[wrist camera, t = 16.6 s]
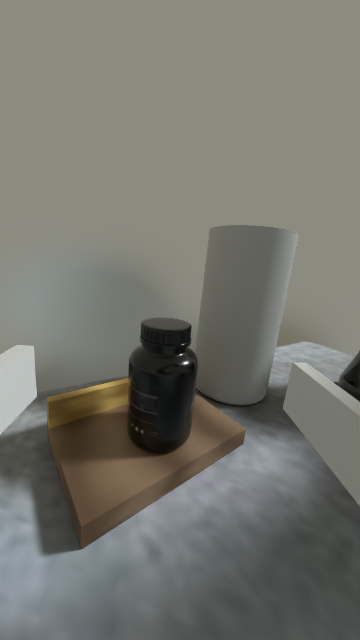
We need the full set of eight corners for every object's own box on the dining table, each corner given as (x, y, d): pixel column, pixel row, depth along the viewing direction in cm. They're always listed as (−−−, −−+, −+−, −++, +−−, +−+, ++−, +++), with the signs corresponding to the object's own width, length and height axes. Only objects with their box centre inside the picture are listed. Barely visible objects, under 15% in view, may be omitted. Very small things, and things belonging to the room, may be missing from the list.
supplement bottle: (155, 404, 29) (162, 311, 27) (201, 429, 26) (216, 325, 23) (111, 432, 24) (115, 320, 21) (162, 469, 20) (175, 339, 17)
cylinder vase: (228, 365, 48) (248, 240, 43) (281, 396, 38) (316, 238, 33) (178, 376, 42) (193, 229, 36) (226, 416, 32) (257, 221, 26)
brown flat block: (179, 394, 36) (182, 364, 35) (243, 443, 27) (250, 405, 26) (48, 439, 25) (46, 397, 24) (81, 549, 16) (81, 490, 15)
